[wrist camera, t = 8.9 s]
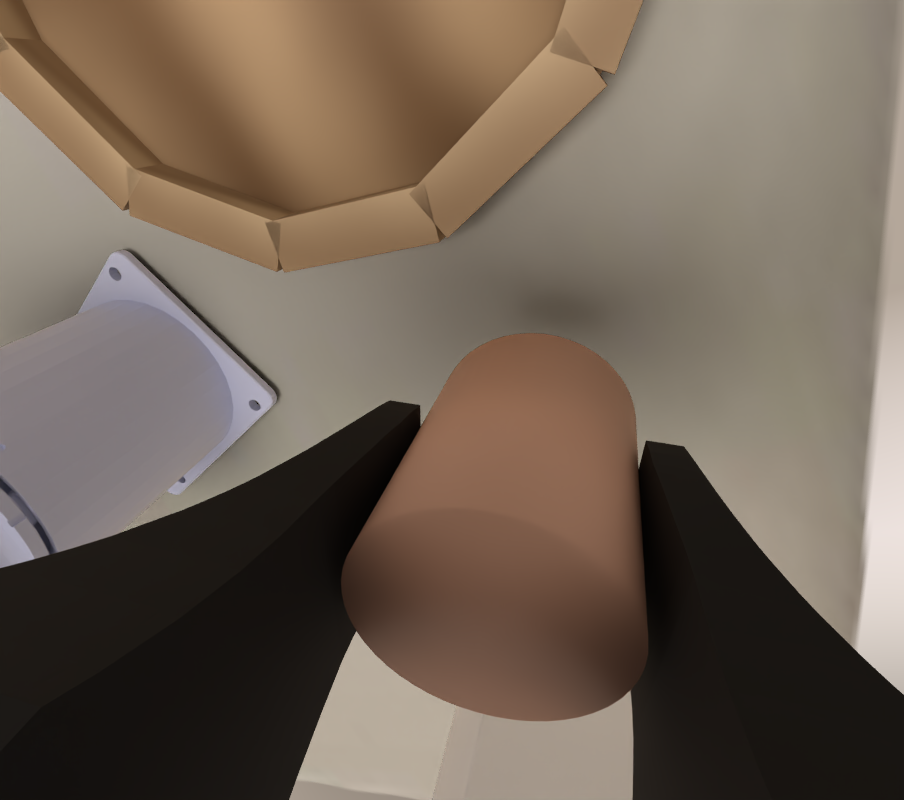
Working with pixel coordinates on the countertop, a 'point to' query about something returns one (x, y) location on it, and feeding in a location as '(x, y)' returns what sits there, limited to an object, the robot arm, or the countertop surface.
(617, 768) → the milk
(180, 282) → the countertop surface
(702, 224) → the countertop surface
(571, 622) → the bead terracotta
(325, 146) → the tray
